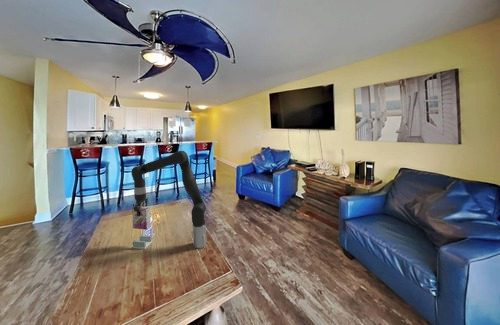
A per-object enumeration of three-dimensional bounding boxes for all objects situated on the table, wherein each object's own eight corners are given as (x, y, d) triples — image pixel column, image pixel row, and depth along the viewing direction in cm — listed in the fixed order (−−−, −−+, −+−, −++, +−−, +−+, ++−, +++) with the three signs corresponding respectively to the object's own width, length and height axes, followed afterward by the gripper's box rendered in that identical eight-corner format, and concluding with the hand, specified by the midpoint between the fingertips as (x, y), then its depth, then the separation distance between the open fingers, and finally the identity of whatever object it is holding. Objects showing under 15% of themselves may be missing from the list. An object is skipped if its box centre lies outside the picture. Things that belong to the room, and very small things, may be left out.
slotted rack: (141, 241, 150) (140, 235, 150) (152, 242, 150) (151, 235, 149) (133, 248, 141) (132, 241, 140) (144, 248, 141) (144, 242, 140)
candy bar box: (132, 228, 142) (131, 208, 139) (137, 225, 147) (136, 205, 144) (146, 230, 141) (145, 209, 138) (150, 226, 146) (150, 206, 143)
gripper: (138, 196, 132) (139, 218, 135) (150, 190, 146) (151, 210, 149) (128, 195, 133) (129, 218, 135) (141, 189, 147) (142, 210, 149)
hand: (141, 214), depth 142 cm, fingers closed on candy bar box, 5 cm apart
